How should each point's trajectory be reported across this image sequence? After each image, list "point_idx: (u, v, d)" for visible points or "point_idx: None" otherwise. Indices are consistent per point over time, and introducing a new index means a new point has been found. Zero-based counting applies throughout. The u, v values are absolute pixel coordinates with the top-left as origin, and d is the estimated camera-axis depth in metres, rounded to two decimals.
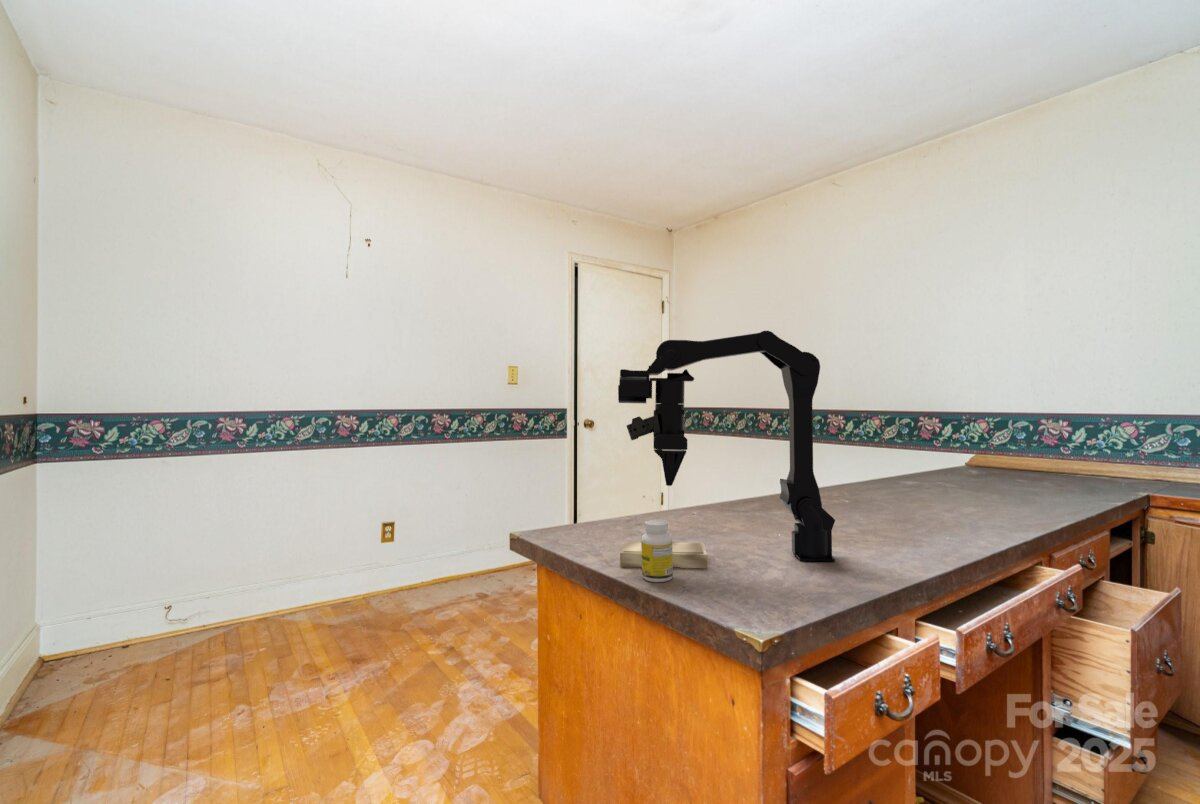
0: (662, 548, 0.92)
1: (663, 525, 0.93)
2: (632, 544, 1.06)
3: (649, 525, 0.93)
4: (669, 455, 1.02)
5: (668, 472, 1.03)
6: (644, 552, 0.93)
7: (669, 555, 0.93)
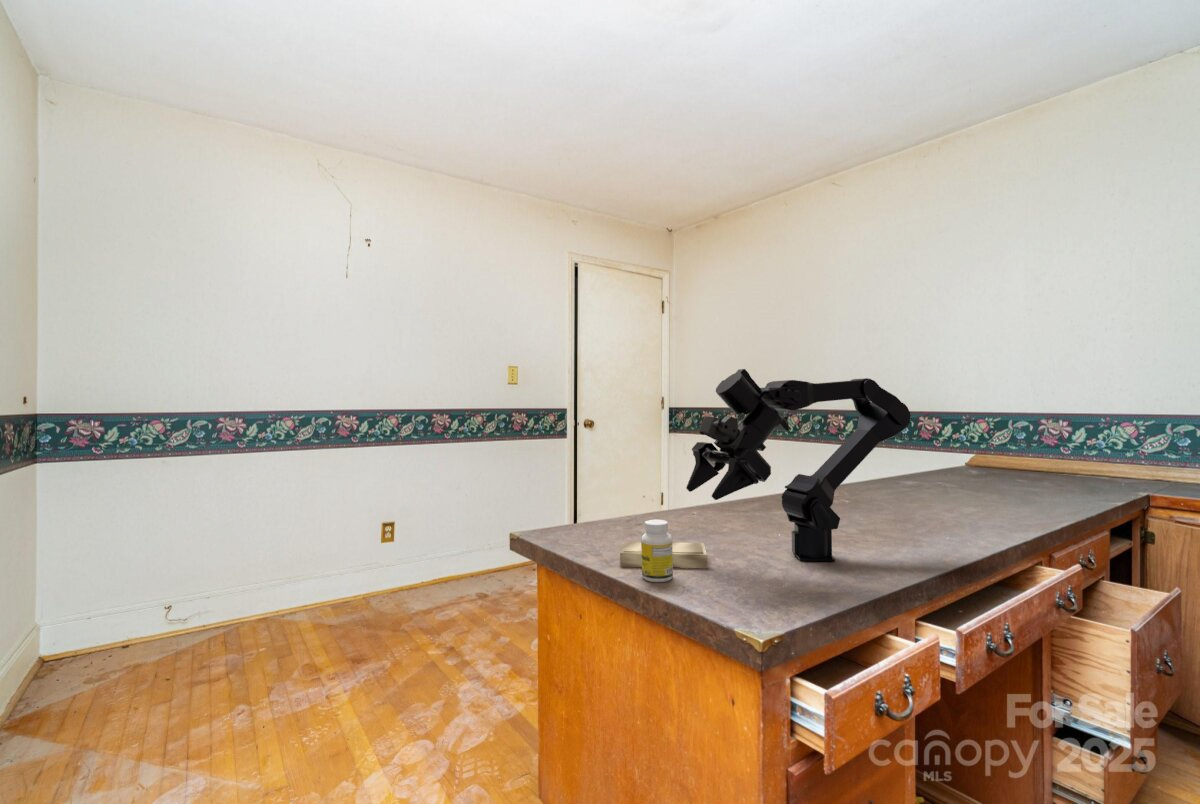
0: (662, 548, 0.92)
1: (663, 525, 0.93)
2: (632, 544, 1.06)
3: (649, 525, 0.93)
4: (737, 473, 0.94)
5: (725, 486, 0.93)
6: (644, 552, 0.93)
7: (669, 555, 0.93)
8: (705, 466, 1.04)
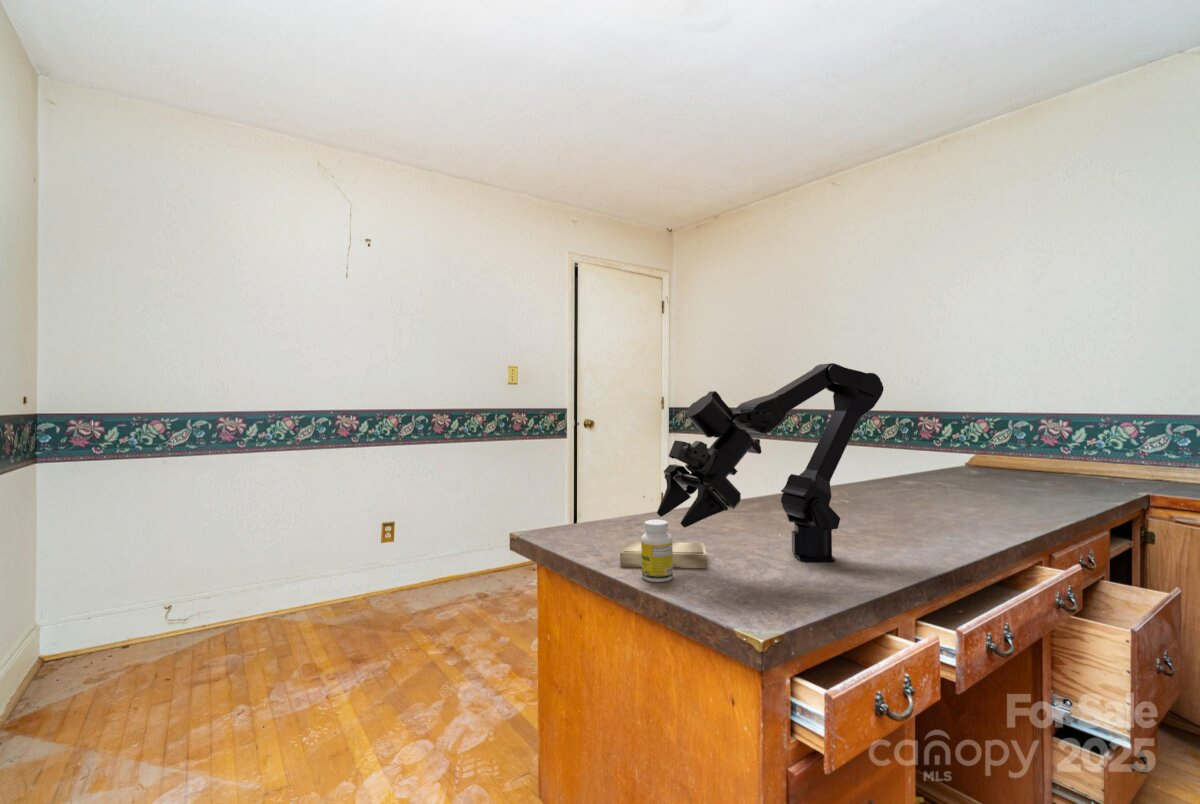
0: (662, 548, 0.92)
1: (663, 525, 0.93)
2: (632, 544, 1.06)
3: (649, 525, 0.93)
4: (707, 500, 0.91)
5: (694, 514, 0.91)
6: (644, 552, 0.93)
7: (669, 555, 0.93)
8: (677, 490, 1.01)
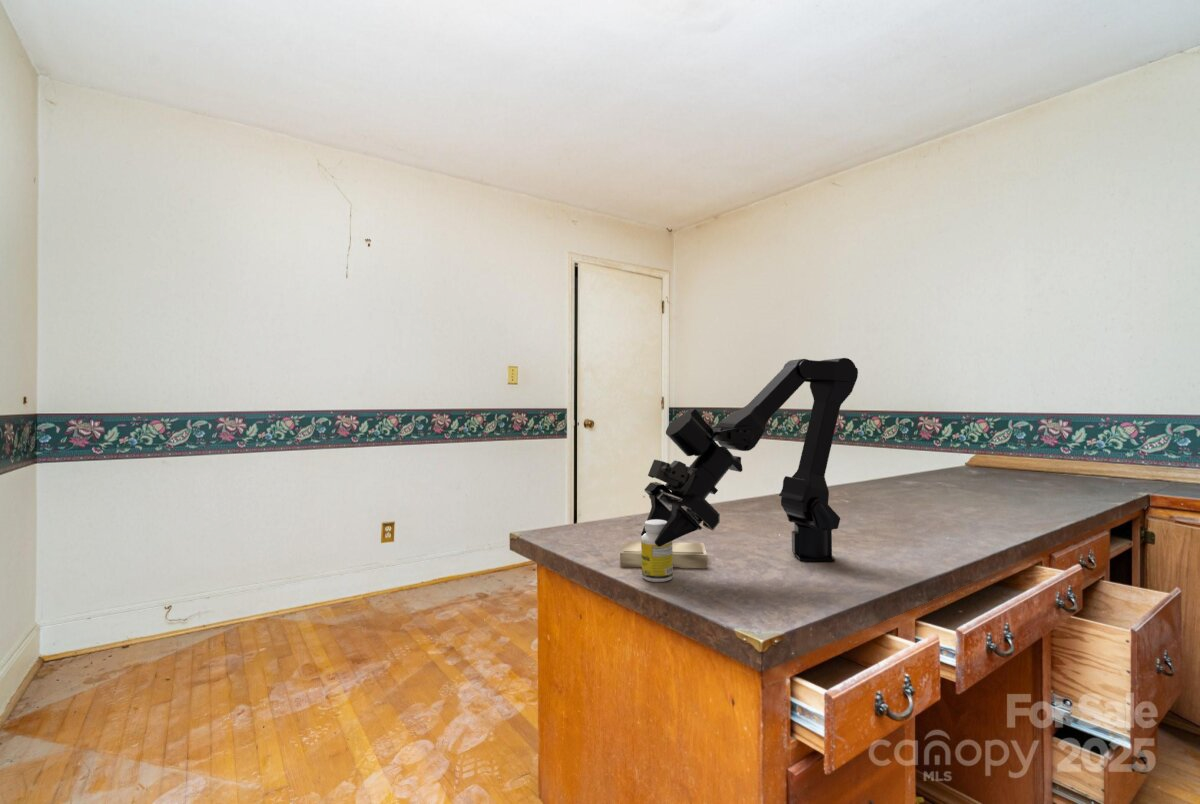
0: (662, 548, 0.92)
1: (663, 525, 0.93)
2: (632, 544, 1.06)
3: (649, 525, 0.93)
4: (681, 519, 0.92)
5: (668, 533, 0.91)
6: (644, 552, 0.93)
7: (669, 555, 0.93)
8: (662, 511, 0.98)
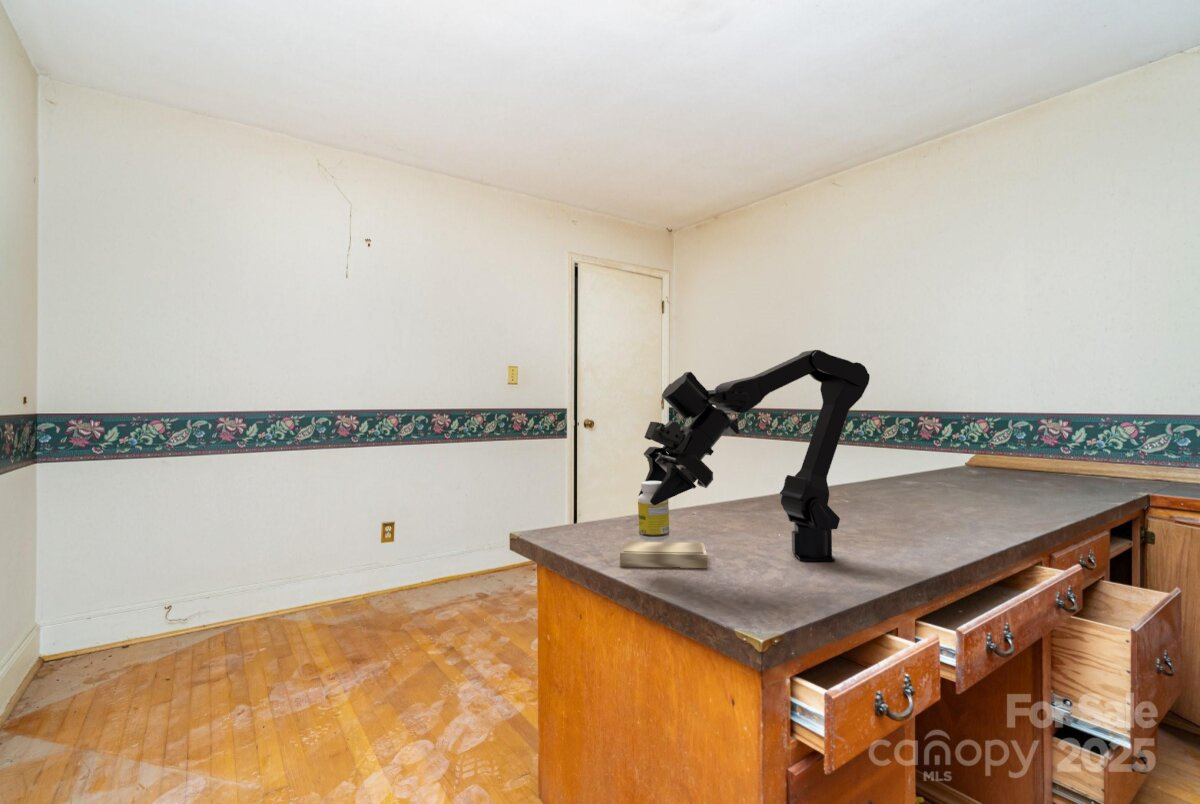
0: (658, 507, 0.94)
1: (658, 485, 0.94)
2: (632, 544, 1.06)
3: (645, 485, 0.95)
4: (676, 478, 0.93)
5: (663, 492, 0.93)
6: (640, 511, 0.95)
7: (665, 514, 0.94)
8: (659, 473, 1.00)
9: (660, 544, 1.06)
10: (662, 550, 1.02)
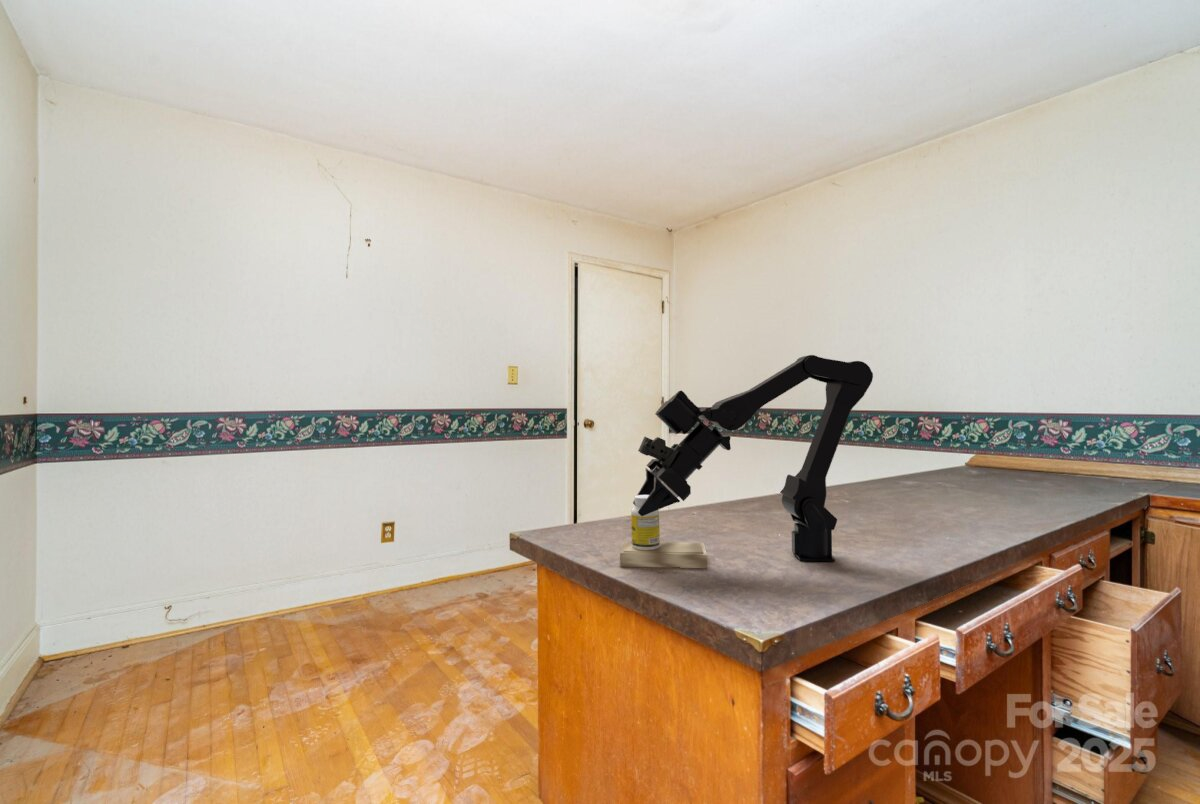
0: (646, 519, 1.02)
1: None
2: None
3: (636, 498, 1.03)
4: (662, 492, 0.99)
5: (649, 504, 0.99)
6: (632, 522, 1.03)
7: (653, 526, 1.02)
8: (653, 483, 1.09)
9: (660, 544, 1.06)
10: (662, 550, 1.02)
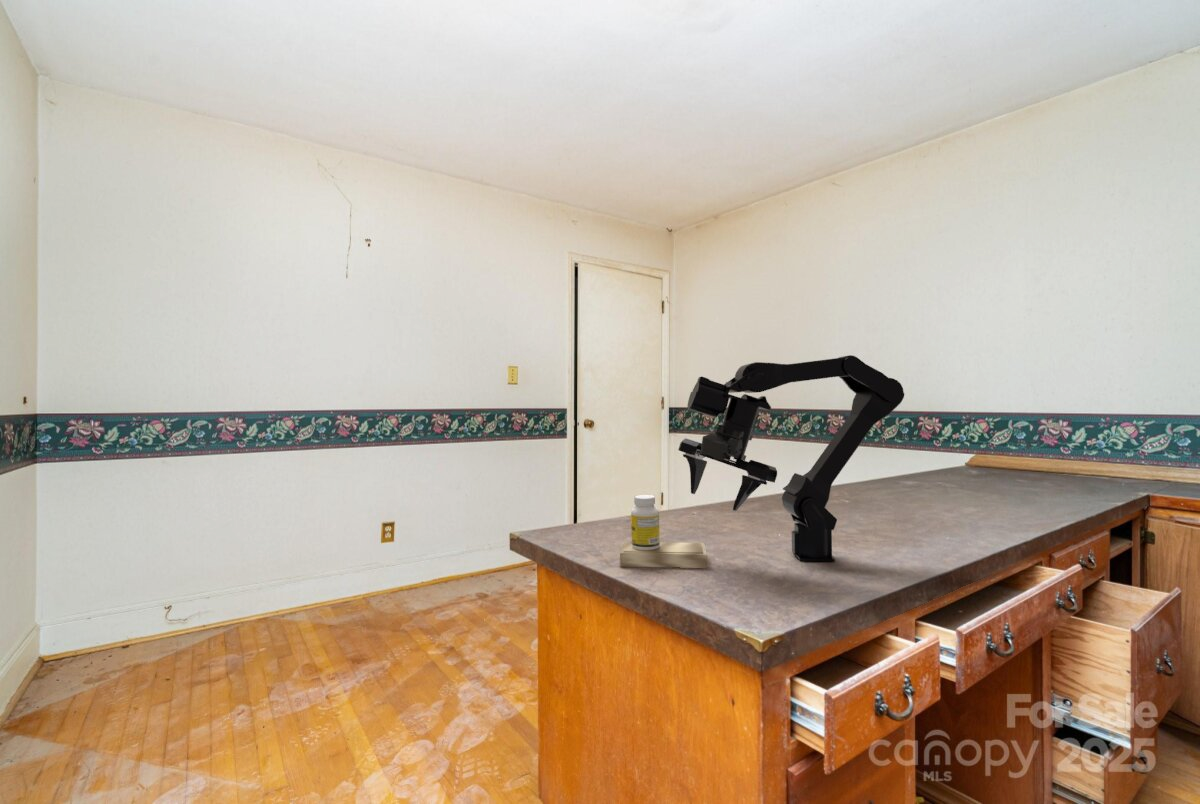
0: (646, 519, 1.02)
1: (648, 499, 1.02)
2: None
3: (636, 498, 1.03)
4: None
5: (743, 498, 1.01)
6: (632, 522, 1.03)
7: (653, 526, 1.02)
8: (699, 465, 1.08)
9: (660, 544, 1.06)
10: (662, 550, 1.02)
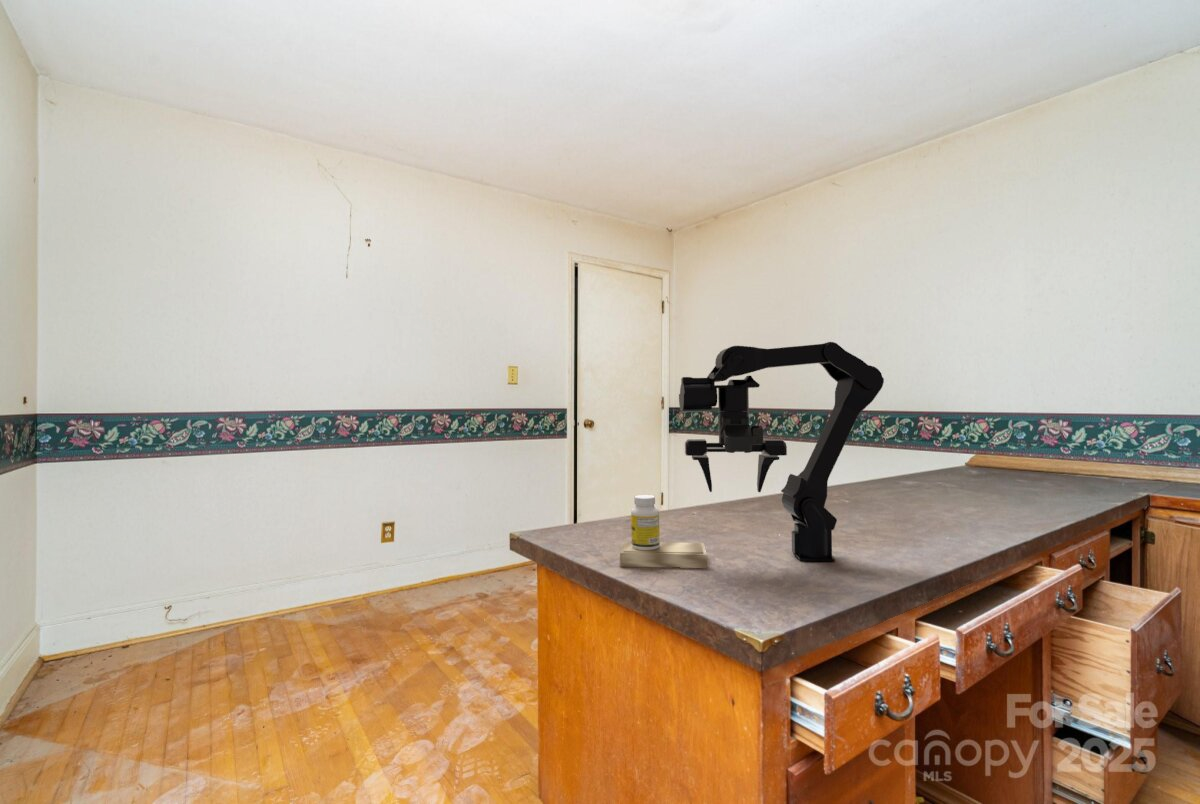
0: (646, 519, 1.02)
1: (648, 499, 1.02)
2: None
3: (636, 498, 1.03)
4: None
5: None
6: (632, 522, 1.04)
7: (653, 526, 1.02)
8: None
9: (660, 544, 1.06)
10: (662, 550, 1.02)
